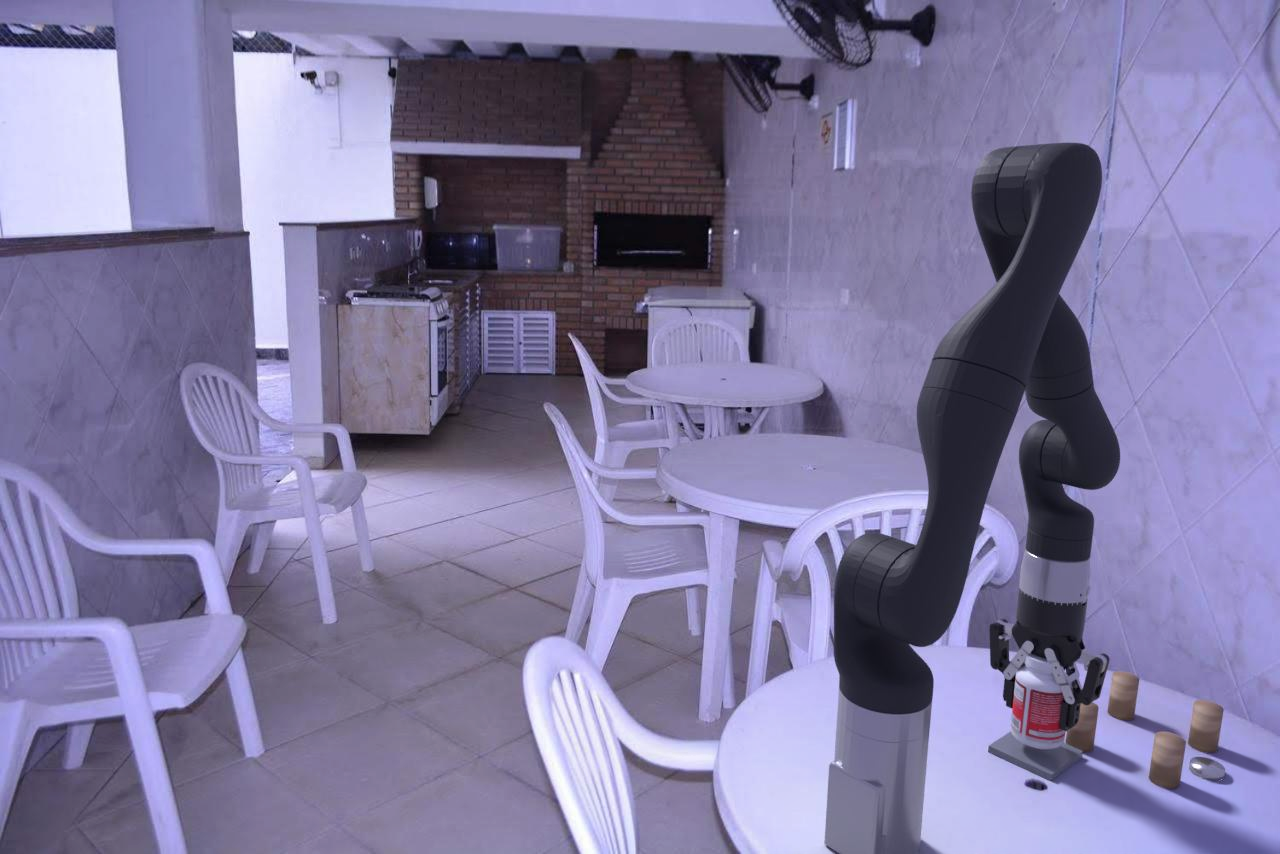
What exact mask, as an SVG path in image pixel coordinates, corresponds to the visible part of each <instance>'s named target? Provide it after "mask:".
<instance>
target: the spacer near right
mask: <svg viewBox="0 0 1280 854" xmlns="http://www.w3.org/2000/svg"><path fill="white" fill-rule="evenodd" d="M1098 716H1099V706H1098V704H1096V703H1094V701H1093V702H1092V703H1091V704H1089V705H1084V704H1082V703H1081V706H1080V714H1079V722H1078V723H1077V725H1075V726H1074V727H1072V728H1070V729H1069V730H1067V731H1066V733H1065V744H1068V745H1070V746H1072V747H1075V748H1077V749H1079V750H1082V751H1083V753H1090V752H1092V751H1093V750H1094V748H1095V747H1094V746H1095V740H1096V739H1095V738H1096V730H1097V724H1098V723H1097V722H1098Z"/></svg>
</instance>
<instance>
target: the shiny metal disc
mask: <svg viewBox="0 0 1280 854" xmlns="http://www.w3.org/2000/svg"><path fill="white" fill-rule="evenodd" d="M1188 770H1189V771H1190V772H1191V773H1192V774H1193V775H1194V776H1196V777H1198V778H1200V777H1201V779H1203V780H1206V779H1207V780H1206V781H1211V780H1212V782H1219V780H1220V781H1222V780H1224V778H1225V773H1226V768H1225V766H1224V765H1223V764H1222V763H1220V762H1218V761H1217V760H1215V759H1212V758H1209V757H1204V756H1194V757H1191V758H1190V761H1189V767H1188ZM1221 779H1222V780H1221Z"/></svg>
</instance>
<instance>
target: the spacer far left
mask: <svg viewBox="0 0 1280 854" xmlns="http://www.w3.org/2000/svg"><path fill="white" fill-rule="evenodd" d="M1223 717H1224V708H1223V706H1221V705H1220V704H1218V703H1216V702H1214V701H1211V700H1206V699H1205V700H1204V699H1197V700H1194V702H1193V706H1192V713H1191V720H1190V726H1189V733H1188V740H1187V744H1188V745H1189V747H1191V748H1192V749H1193V750H1195V749H1196V750H1195V751H1198V752H1201V753H1205V752H1207V753H1206V754H1214V752H1215V753H1217V752H1218V748H1219V741H1220V737H1221V736H1220V735H1221V730H1222V729H1221V728H1222V723H1223ZM1216 751H1217V752H1216Z"/></svg>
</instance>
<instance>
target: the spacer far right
mask: <svg viewBox="0 0 1280 854" xmlns="http://www.w3.org/2000/svg"><path fill="white" fill-rule="evenodd" d="M1139 685H1140V678H1139V677H1138V676H1137V675H1136V674H1134V673H1131V672H1128V671H1123V670H1116V671H1113V672H1112V674H1111V682H1110V689H1109V690H1110V691H1109V698H1108V703H1107V704H1108V705H1107V714H1108V715H1109V716H1111V717H1112V718H1114V719H1116V720H1120V721H1126V722H1127V721H1132V720H1134V719H1135V716H1136V715H1135V713H1136V707H1137V706H1136V705H1137V698H1138V692H1139Z"/></svg>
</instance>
